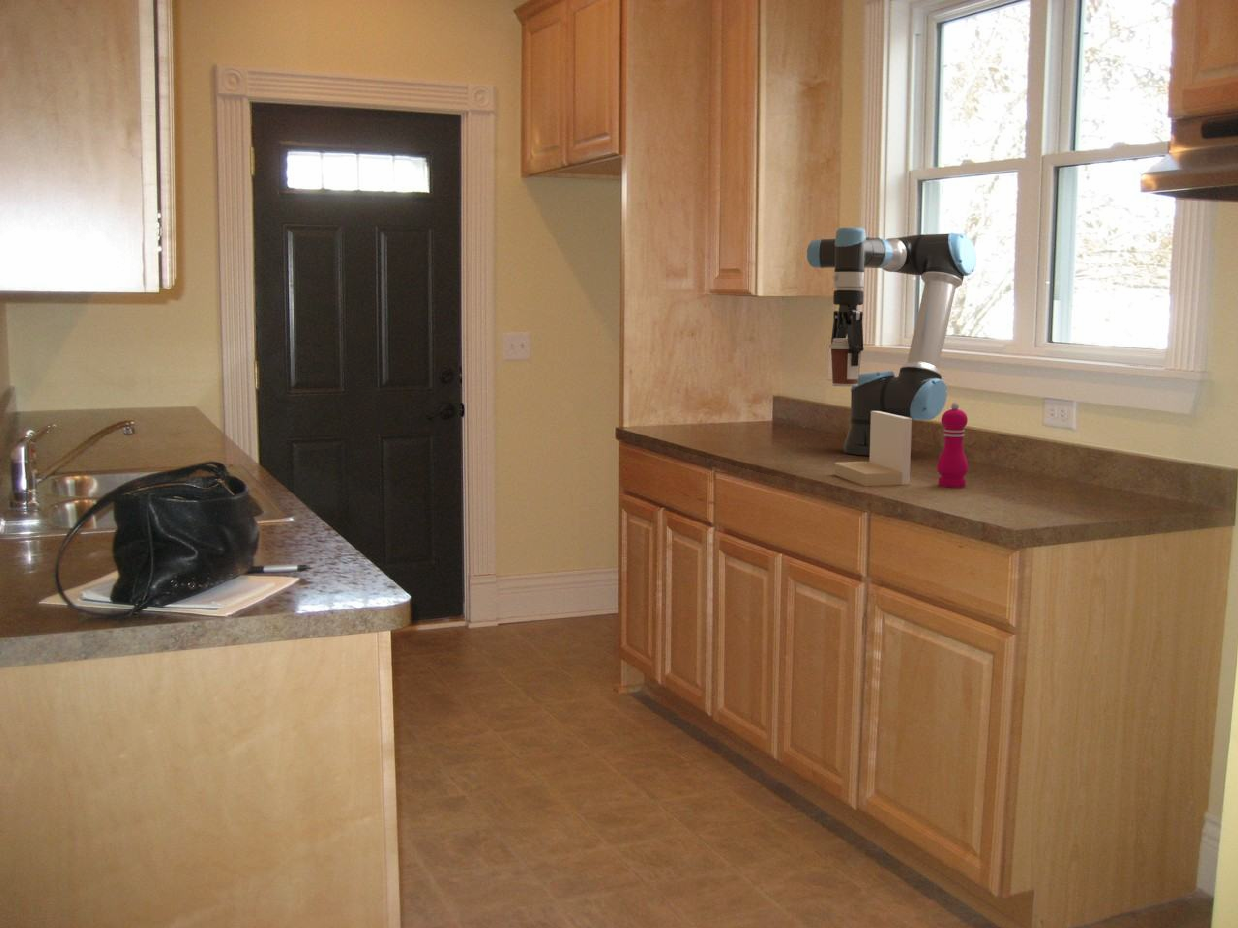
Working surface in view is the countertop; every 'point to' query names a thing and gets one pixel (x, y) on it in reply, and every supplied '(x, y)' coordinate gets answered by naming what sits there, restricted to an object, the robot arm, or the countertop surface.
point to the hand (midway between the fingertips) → (845, 377)
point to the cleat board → (883, 453)
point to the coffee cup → (841, 363)
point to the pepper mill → (953, 449)
